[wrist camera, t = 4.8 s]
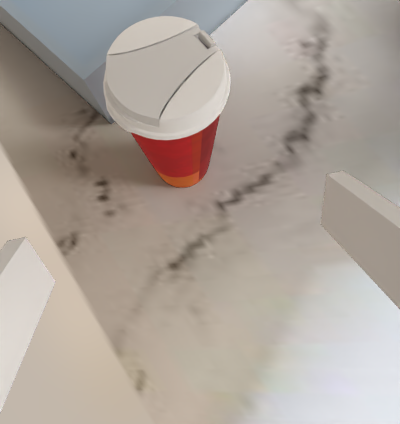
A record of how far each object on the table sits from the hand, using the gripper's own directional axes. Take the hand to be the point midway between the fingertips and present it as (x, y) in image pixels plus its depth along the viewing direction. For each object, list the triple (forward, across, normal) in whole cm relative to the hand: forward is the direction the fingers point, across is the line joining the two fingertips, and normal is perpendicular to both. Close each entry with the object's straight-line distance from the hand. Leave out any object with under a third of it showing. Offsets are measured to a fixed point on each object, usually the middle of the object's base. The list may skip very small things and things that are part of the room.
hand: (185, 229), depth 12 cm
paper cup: (+17, +1, -4) cm, 18 cm away
